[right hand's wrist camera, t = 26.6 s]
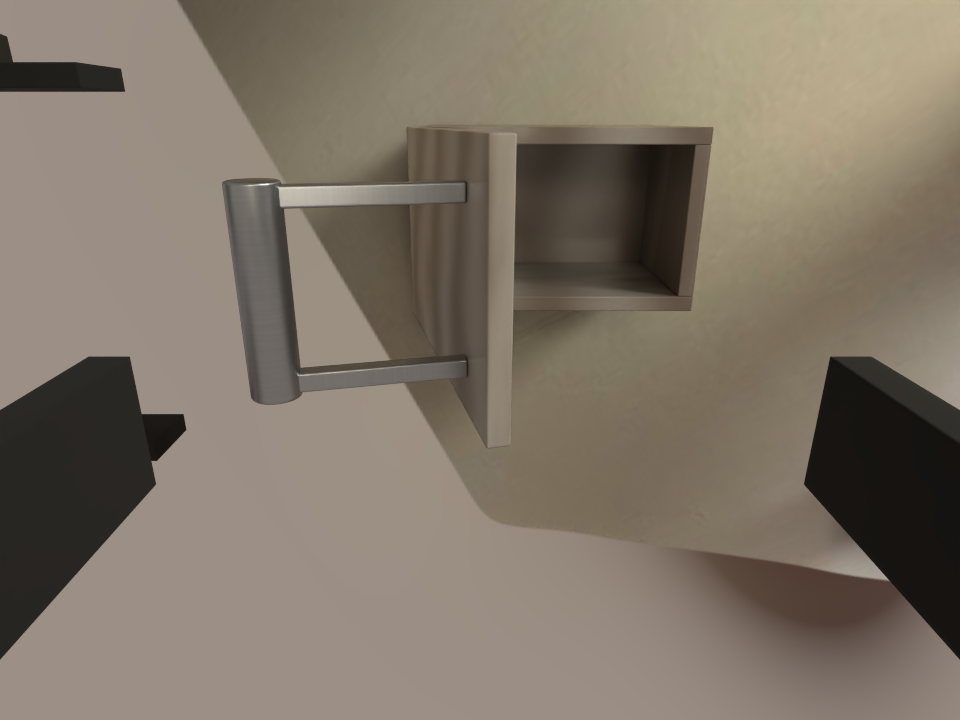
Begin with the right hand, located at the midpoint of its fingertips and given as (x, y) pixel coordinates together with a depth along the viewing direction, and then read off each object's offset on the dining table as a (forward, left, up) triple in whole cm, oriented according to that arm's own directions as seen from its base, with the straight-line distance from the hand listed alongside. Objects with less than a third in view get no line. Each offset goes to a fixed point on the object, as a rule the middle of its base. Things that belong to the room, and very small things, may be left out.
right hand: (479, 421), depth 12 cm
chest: (0, +4, -35) cm, 36 cm away
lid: (0, -1, -17) cm, 17 cm away
